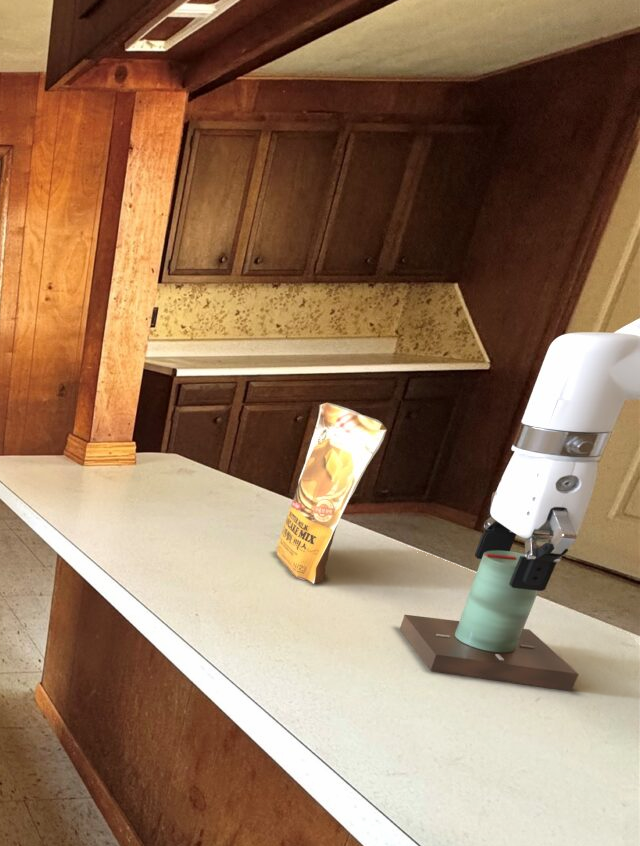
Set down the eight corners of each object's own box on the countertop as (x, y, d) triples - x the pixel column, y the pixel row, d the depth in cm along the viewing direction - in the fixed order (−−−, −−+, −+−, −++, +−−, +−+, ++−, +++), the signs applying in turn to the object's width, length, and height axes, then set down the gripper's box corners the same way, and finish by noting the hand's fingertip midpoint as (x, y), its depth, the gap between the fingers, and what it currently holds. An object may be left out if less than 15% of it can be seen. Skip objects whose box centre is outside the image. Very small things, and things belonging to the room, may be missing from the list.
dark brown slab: (523, 645, 92) (530, 628, 91) (571, 691, 82) (579, 673, 81) (399, 629, 97) (404, 613, 96) (430, 671, 87) (436, 653, 86)
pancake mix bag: (305, 548, 126) (342, 400, 116) (346, 590, 109) (394, 421, 99) (266, 545, 128) (298, 400, 118) (300, 586, 111) (342, 421, 101)
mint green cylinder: (502, 634, 90) (535, 551, 85) (524, 656, 85) (560, 568, 80) (447, 627, 92) (475, 546, 87) (465, 648, 87) (496, 562, 82)
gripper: (650, 462, 70) (584, 606, 76) (560, 429, 84) (511, 552, 91) (556, 456, 72) (501, 596, 79) (485, 426, 87) (443, 546, 94)
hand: (506, 573), depth 85 cm, fingers open, 9 cm apart
